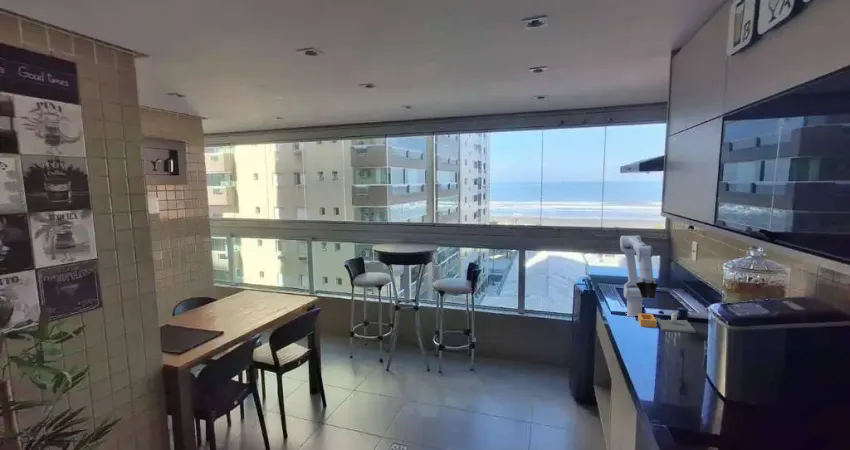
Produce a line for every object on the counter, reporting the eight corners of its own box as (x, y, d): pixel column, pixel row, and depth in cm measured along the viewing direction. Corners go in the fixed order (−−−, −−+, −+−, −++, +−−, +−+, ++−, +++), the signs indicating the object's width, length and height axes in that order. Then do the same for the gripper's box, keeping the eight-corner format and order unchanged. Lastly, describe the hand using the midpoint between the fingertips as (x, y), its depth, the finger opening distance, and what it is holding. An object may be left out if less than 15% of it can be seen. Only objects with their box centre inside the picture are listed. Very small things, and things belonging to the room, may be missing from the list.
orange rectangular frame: (637, 319, 209) (637, 313, 209) (652, 320, 207) (652, 314, 206) (640, 326, 199) (640, 319, 199) (656, 327, 196) (656, 320, 196)
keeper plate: (654, 318, 210) (654, 306, 210) (685, 320, 205) (685, 308, 205) (661, 330, 192) (661, 318, 191) (696, 333, 187) (696, 320, 186)
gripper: (647, 268, 188) (650, 297, 185) (660, 270, 197) (663, 298, 194) (632, 269, 194) (634, 297, 191) (645, 271, 202) (648, 298, 199)
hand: (648, 298), depth 193 cm, fingers open, 7 cm apart
